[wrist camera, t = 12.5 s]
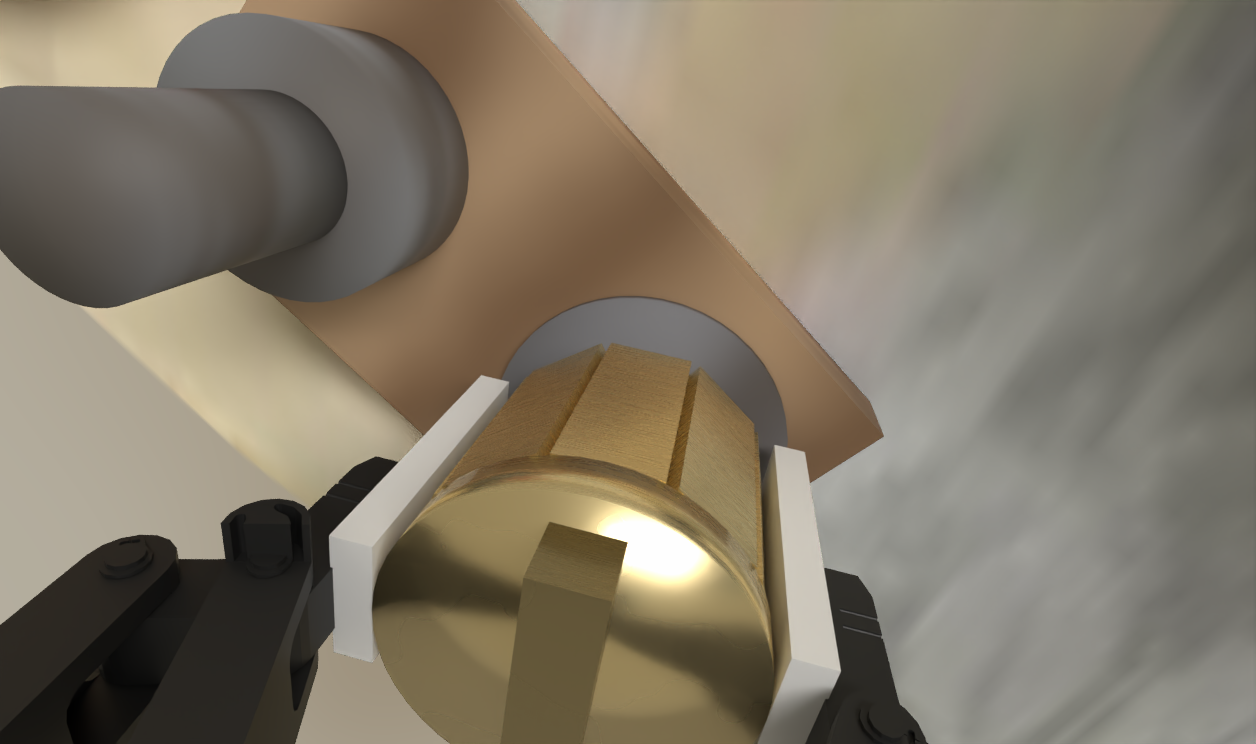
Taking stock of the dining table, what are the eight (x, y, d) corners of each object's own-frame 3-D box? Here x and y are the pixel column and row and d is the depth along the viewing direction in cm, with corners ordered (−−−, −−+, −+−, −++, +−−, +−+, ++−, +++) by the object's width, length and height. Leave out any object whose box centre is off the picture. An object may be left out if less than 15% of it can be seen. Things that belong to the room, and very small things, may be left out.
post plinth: (204, 169, 18) (-265, 232, 10) (393, -138, 15) (-109, -471, 6) (622, 565, 22) (541, 870, 13) (870, 401, 18) (984, 684, 9)
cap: (509, 314, 15) (320, 487, 8) (800, 382, 14) (846, 626, 8) (485, 543, 18) (332, 805, 11) (726, 606, 17) (714, 922, 10)
